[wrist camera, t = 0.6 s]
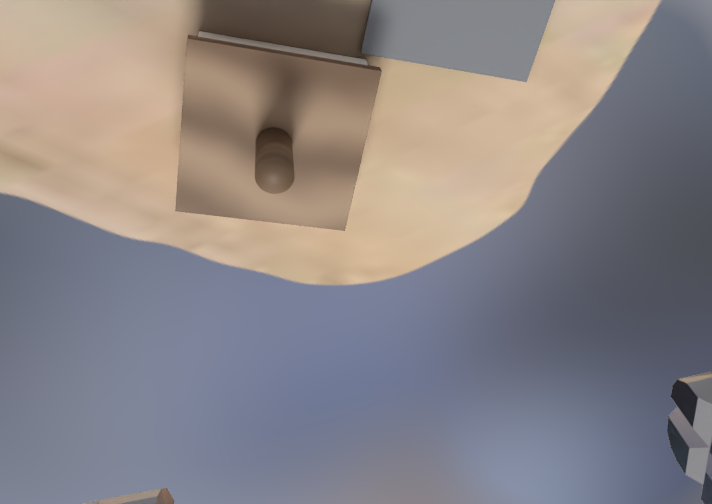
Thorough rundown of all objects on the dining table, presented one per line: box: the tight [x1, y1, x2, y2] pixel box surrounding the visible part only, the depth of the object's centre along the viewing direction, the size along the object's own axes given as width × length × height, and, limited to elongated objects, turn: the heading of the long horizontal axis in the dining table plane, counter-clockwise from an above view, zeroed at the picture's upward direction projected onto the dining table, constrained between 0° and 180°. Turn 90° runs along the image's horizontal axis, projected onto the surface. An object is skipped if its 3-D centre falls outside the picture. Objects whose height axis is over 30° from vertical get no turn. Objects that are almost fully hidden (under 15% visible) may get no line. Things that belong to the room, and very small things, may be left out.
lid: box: [175, 35, 381, 231], centre depth 46 cm, size 13×13×6 cm
